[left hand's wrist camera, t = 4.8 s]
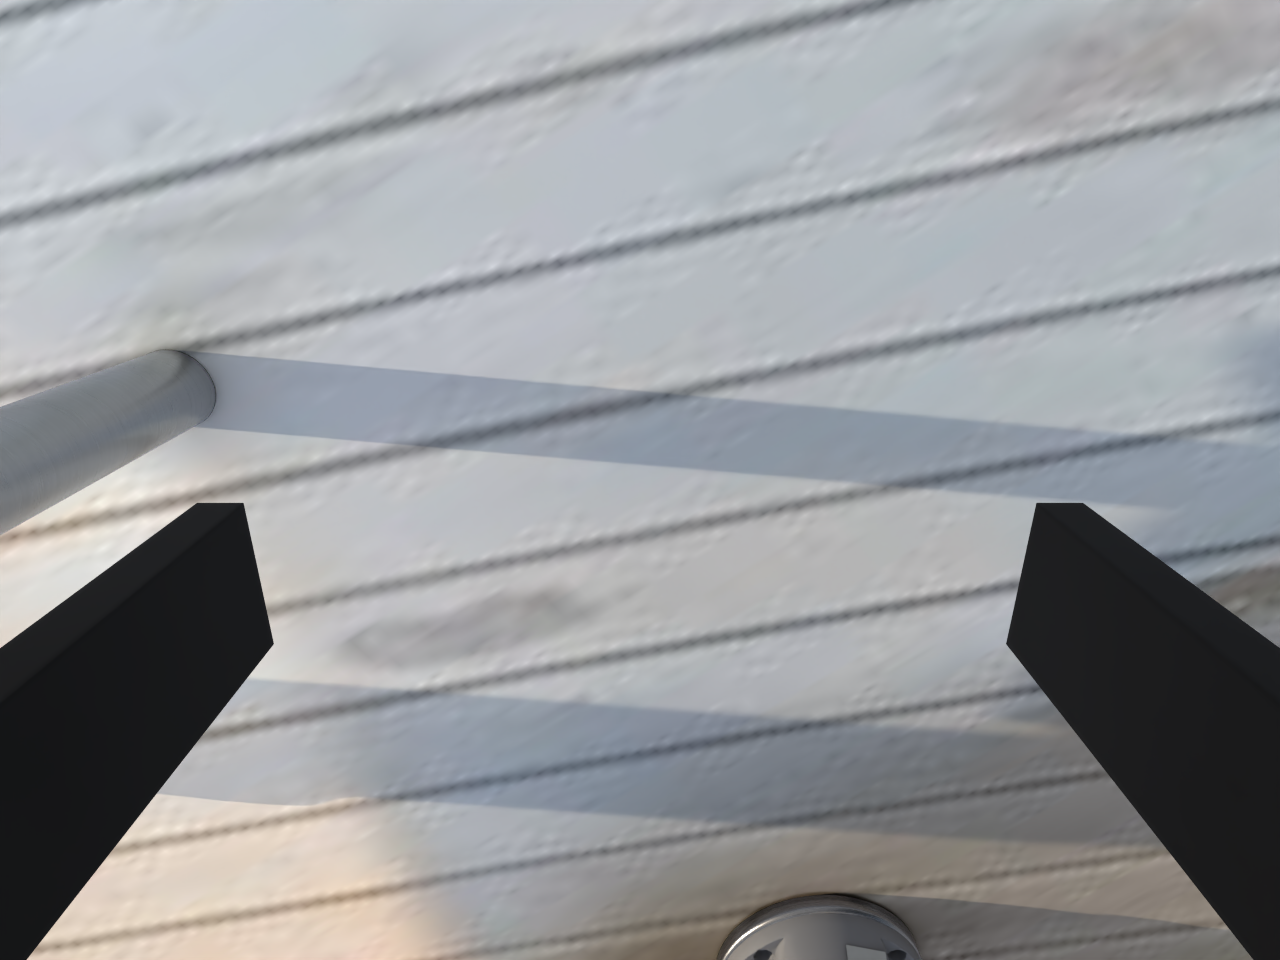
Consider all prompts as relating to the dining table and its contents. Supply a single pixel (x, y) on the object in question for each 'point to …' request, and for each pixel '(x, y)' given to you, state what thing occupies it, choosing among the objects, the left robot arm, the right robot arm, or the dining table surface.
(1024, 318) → the dining table surface
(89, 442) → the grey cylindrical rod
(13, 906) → the left robot arm
